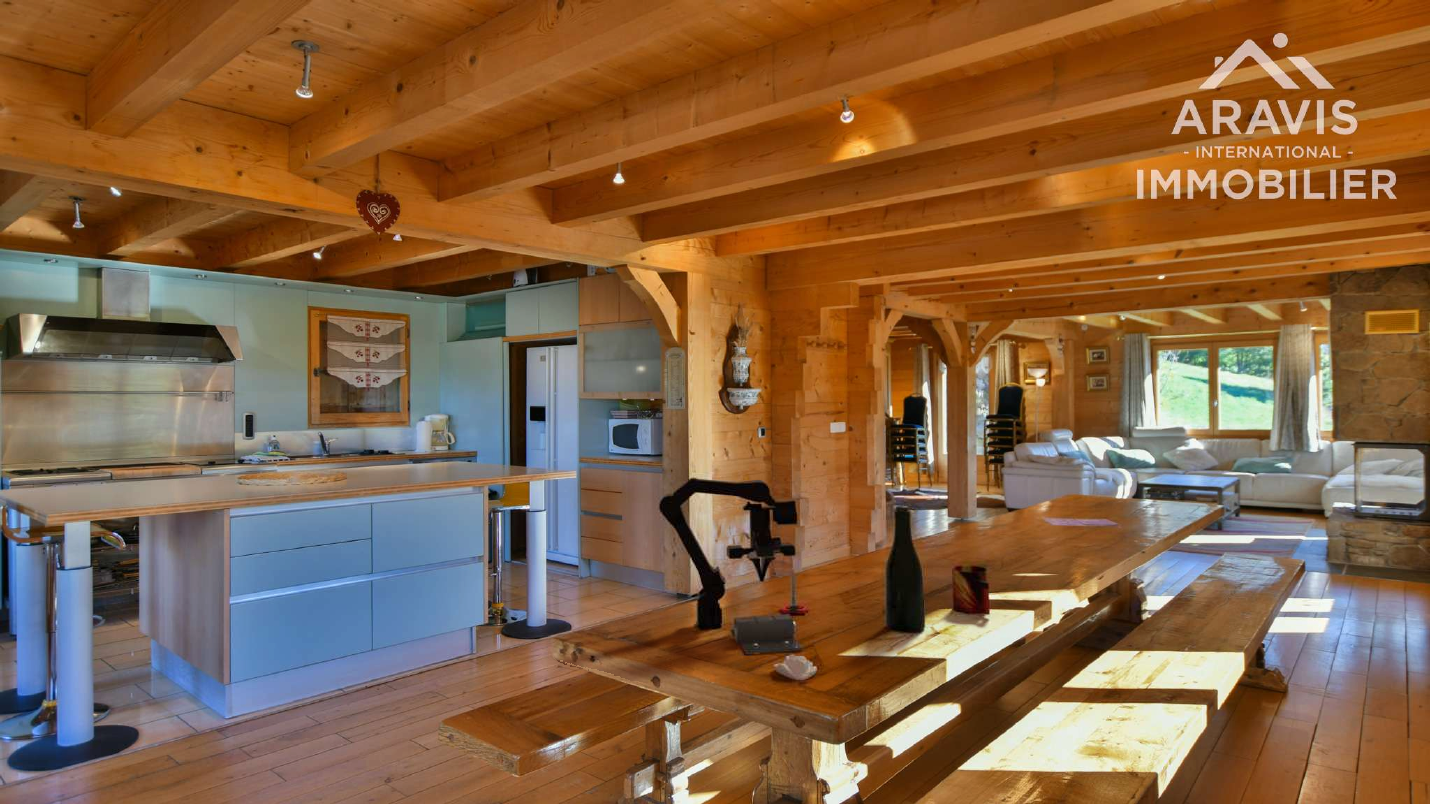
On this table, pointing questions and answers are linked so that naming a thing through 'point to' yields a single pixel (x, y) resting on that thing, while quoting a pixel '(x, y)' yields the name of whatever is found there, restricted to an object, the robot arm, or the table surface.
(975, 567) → the mug
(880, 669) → the table surface
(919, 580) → the beer bottle
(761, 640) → the hinge
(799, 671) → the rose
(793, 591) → the tow hook
